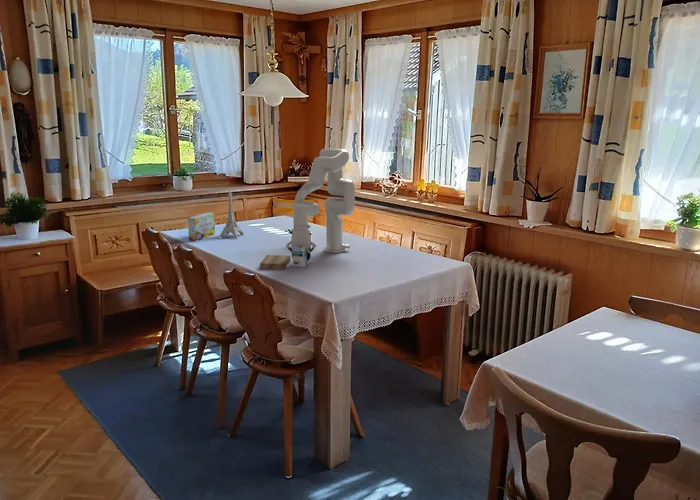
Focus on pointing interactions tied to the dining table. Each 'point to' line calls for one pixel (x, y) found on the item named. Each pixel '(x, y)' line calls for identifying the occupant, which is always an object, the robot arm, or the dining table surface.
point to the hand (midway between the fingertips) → (301, 259)
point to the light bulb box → (300, 256)
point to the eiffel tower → (231, 221)
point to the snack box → (201, 226)
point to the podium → (275, 262)
